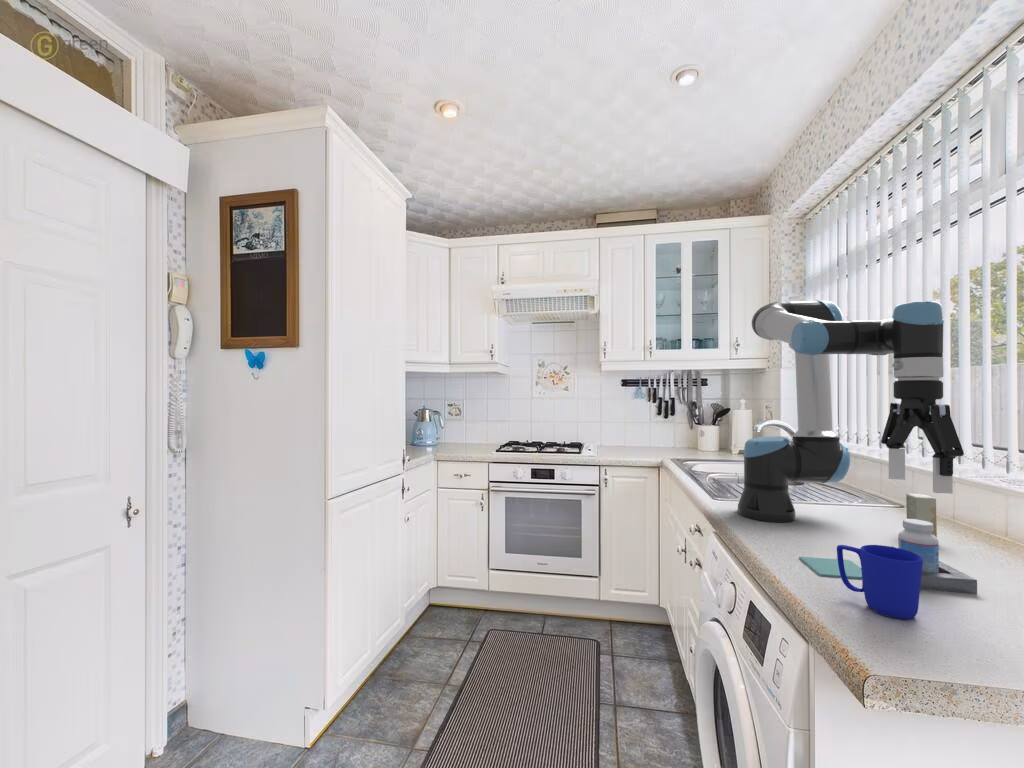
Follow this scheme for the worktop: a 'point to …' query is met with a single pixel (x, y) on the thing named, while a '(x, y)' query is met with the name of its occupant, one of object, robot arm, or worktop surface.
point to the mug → (887, 579)
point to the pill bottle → (920, 543)
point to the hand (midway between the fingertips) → (918, 485)
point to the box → (922, 509)
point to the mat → (832, 567)
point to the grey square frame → (948, 580)
